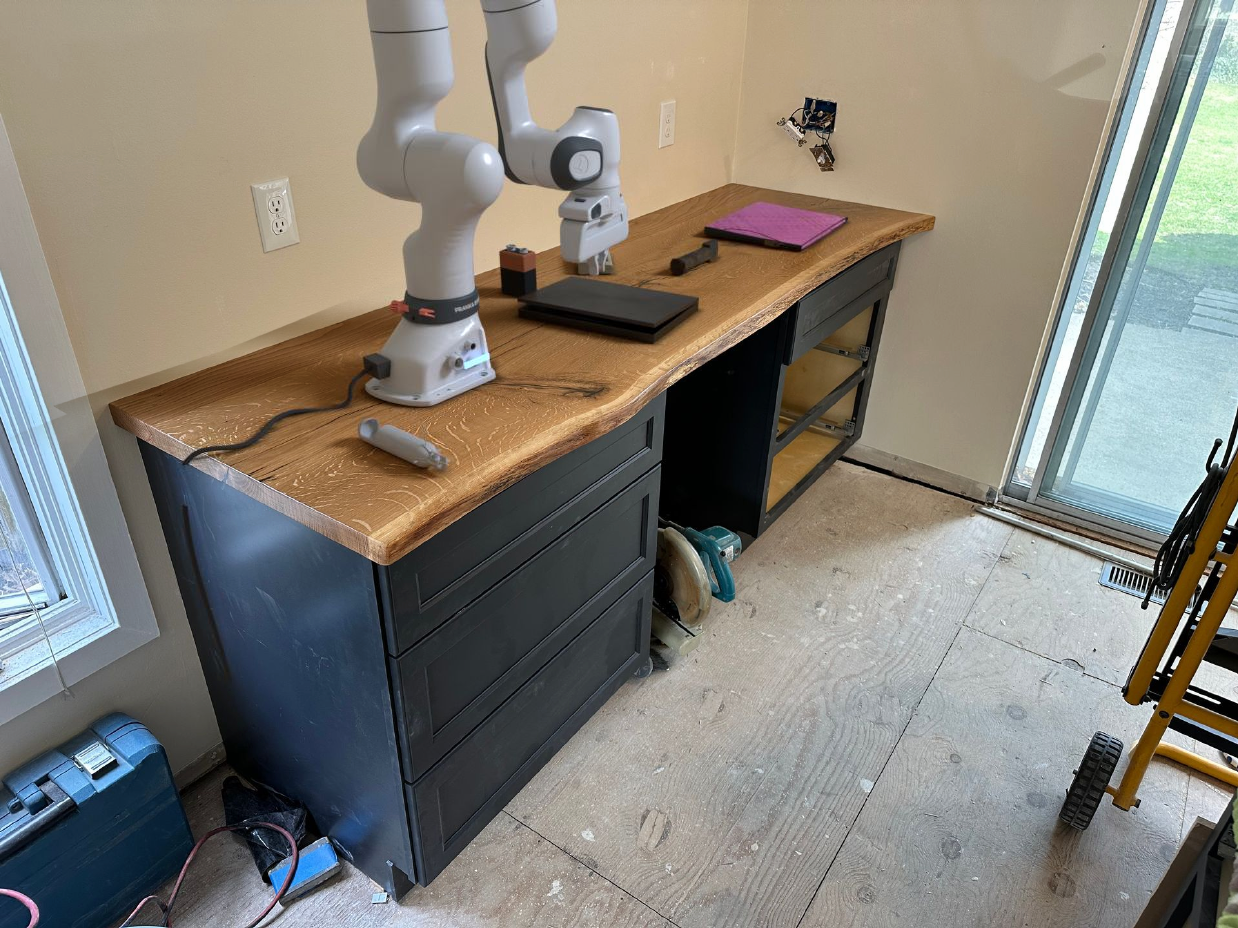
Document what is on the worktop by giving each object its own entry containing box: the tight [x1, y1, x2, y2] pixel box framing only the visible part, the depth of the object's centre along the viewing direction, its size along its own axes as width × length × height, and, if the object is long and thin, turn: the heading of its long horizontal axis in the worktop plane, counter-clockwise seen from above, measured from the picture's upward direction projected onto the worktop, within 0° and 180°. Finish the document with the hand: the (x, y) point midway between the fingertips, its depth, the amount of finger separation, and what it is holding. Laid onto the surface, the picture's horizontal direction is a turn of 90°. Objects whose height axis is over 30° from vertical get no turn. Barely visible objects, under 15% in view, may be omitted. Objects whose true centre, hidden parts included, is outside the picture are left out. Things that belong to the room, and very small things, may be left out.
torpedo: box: [357, 417, 451, 472], centre depth 121 cm, size 18×5×6 cm, turn 53°
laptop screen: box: [517, 275, 700, 328], centre depth 173 cm, size 21×30×1 cm
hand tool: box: [669, 238, 719, 276], centre depth 202 cm, size 19×4×5 cm, turn 143°
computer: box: [576, 248, 614, 275], centre depth 203 cm, size 16×8×3 cm, turn 4°
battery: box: [498, 243, 538, 298], centre depth 183 cm, size 4×7×10 cm, turn 55°
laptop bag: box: [703, 201, 849, 251], centre depth 231 cm, size 40×4×27 cm
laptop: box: [517, 301, 700, 345], centre depth 174 cm, size 21×30×2 cm
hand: (596, 273), depth 166 cm, fingers closed
